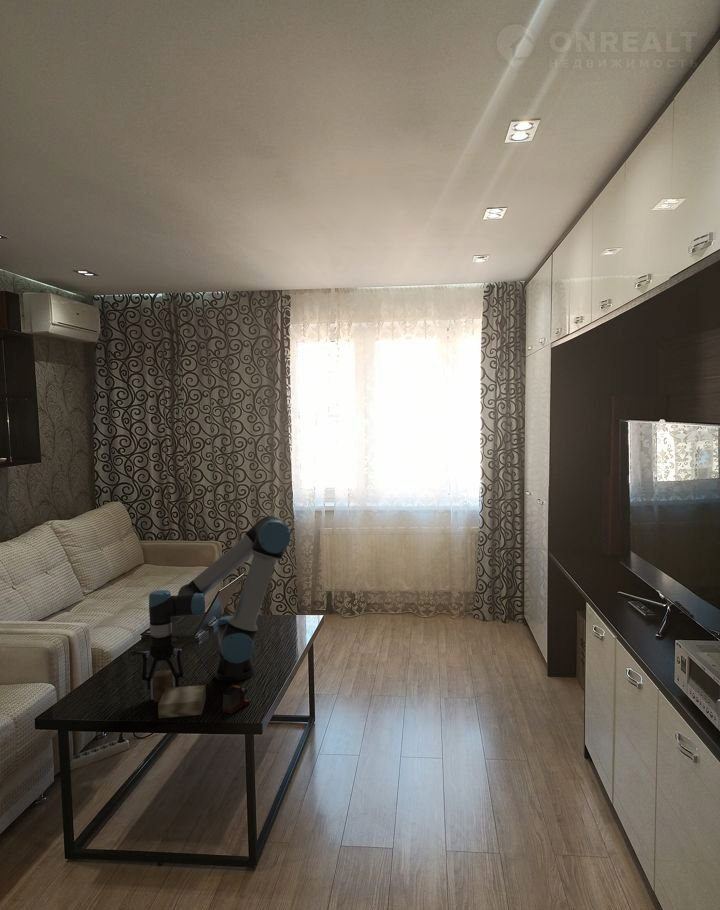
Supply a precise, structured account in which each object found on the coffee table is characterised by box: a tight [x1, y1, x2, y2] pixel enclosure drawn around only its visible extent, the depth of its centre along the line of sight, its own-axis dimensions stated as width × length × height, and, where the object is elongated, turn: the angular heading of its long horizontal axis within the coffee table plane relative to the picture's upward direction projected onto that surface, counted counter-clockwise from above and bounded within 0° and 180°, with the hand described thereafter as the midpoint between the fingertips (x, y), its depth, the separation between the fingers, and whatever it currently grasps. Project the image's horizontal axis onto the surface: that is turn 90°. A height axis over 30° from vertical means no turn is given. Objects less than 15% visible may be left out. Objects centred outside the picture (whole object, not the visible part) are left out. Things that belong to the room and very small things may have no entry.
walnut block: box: [152, 669, 174, 703], centre depth 231 cm, size 6×6×9 cm
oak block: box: [157, 684, 207, 719], centre depth 222 cm, size 14×14×5 cm
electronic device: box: [222, 685, 251, 715], centre depth 220 cm, size 4×10×8 cm, turn 148°
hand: (164, 697), depth 231 cm, fingers open, 7 cm apart
